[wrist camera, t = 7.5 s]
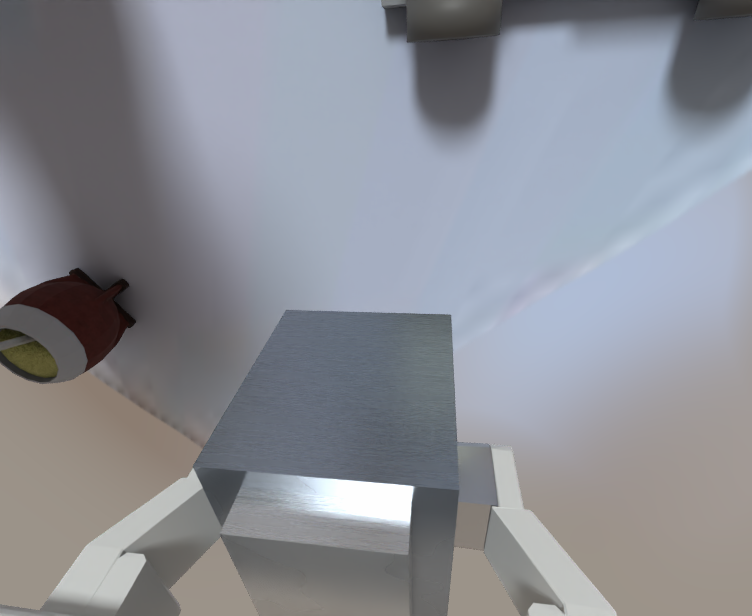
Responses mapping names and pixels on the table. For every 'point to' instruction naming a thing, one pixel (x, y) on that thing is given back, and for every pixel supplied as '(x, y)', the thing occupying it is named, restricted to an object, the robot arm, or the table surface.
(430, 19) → the chassis
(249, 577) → the two-tone metal block
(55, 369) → the mate gourd
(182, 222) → the table surface
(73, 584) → the robot arm
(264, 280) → the table surface
